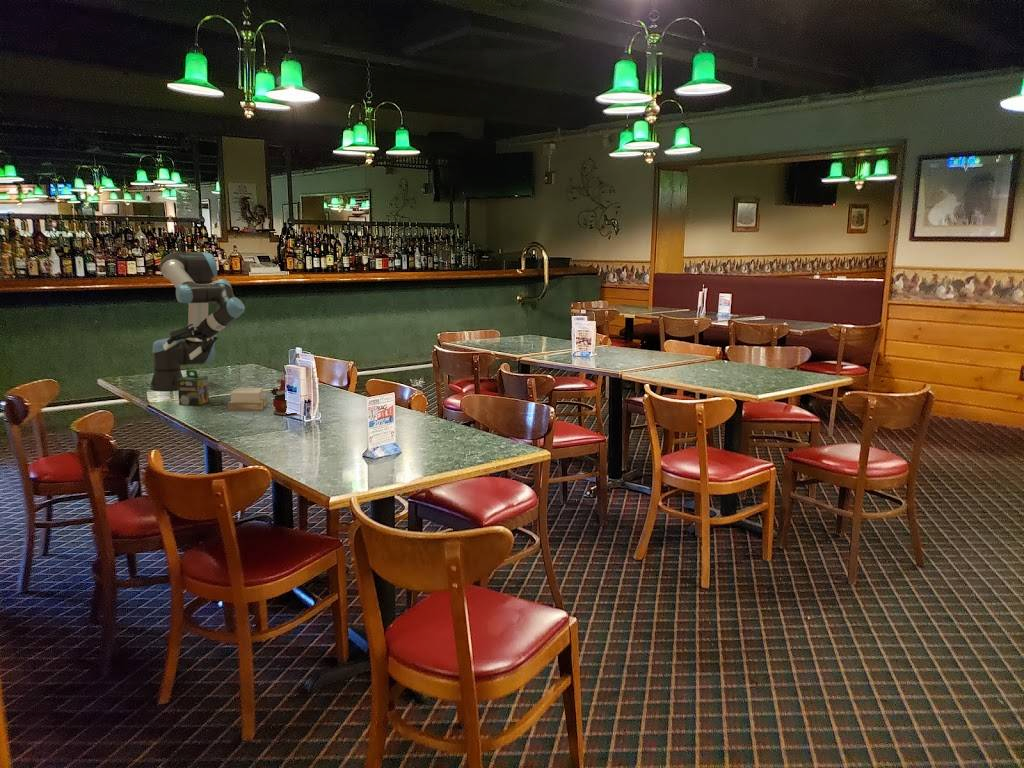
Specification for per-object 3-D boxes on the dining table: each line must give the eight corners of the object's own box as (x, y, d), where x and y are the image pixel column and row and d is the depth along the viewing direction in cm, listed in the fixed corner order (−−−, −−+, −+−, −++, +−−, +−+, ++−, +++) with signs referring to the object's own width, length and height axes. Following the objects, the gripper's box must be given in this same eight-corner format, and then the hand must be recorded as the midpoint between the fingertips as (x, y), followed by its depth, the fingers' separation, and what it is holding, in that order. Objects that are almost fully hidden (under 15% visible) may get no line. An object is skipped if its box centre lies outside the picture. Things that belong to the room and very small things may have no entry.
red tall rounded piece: (298, 410, 311) (297, 368, 308) (299, 415, 303) (299, 372, 300) (271, 411, 308) (270, 368, 305) (272, 416, 299) (271, 372, 296)
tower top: (236, 396, 318) (236, 387, 317) (263, 396, 319) (263, 387, 319) (231, 402, 307) (230, 392, 306) (258, 402, 309) (258, 392, 308)
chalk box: (209, 402, 322) (208, 368, 320) (198, 406, 313) (197, 371, 311) (189, 401, 323) (188, 367, 320) (178, 405, 314) (176, 370, 311)
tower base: (235, 405, 319) (235, 396, 318) (266, 405, 321) (266, 396, 320) (228, 412, 306) (228, 402, 306) (260, 412, 308) (260, 402, 308)
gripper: (191, 321, 298) (154, 350, 303) (237, 340, 320) (202, 367, 325) (187, 307, 301) (151, 336, 306) (233, 327, 323) (198, 354, 328)
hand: (177, 352), depth 316 cm, fingers open, 13 cm apart
